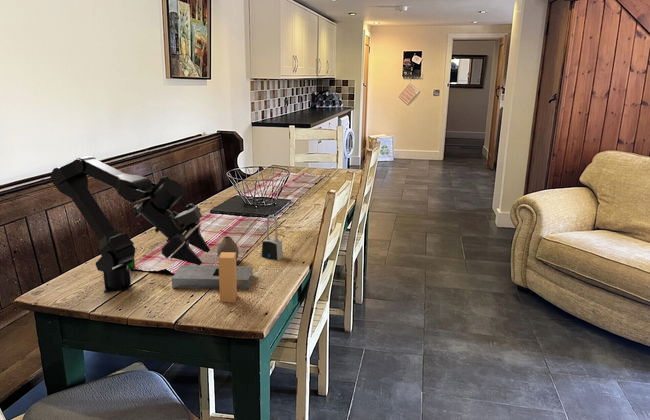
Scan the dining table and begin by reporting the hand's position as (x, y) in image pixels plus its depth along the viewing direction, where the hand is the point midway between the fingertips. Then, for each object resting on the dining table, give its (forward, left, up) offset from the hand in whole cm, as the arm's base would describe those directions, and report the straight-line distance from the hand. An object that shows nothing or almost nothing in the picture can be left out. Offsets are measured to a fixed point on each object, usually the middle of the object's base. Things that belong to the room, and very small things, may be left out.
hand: (205, 257), depth 130 cm
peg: (+6, -2, -12) cm, 14 cm away
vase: (+9, +25, -12) cm, 29 cm away
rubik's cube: (-24, +29, -12) cm, 40 cm away
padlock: (+24, +26, -12) cm, 37 cm away
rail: (+3, +11, -12) cm, 16 cm away
